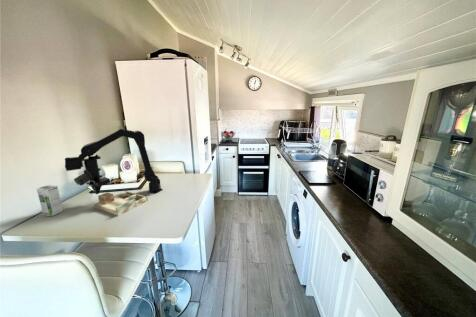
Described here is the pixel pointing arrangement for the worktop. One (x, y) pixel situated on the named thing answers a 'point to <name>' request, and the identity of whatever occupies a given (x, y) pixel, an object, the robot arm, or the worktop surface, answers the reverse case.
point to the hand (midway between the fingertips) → (97, 193)
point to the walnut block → (106, 198)
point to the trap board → (122, 203)
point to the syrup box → (50, 200)
